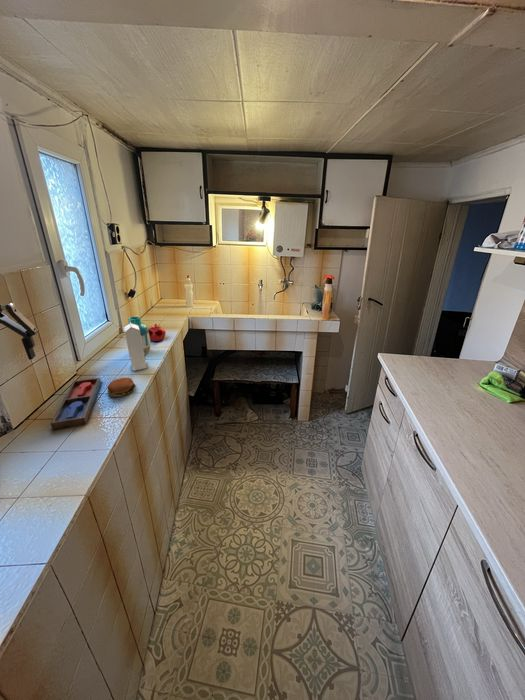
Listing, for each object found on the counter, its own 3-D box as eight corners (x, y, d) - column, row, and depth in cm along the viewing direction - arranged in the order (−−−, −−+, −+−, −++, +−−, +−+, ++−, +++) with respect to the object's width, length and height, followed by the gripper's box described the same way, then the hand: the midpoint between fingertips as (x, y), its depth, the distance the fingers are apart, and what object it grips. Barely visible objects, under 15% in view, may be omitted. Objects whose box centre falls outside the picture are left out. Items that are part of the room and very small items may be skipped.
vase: (126, 358, 138) (118, 321, 130) (133, 349, 148) (126, 314, 140) (149, 357, 139) (142, 320, 131) (154, 348, 148) (148, 314, 140)
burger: (103, 395, 109) (100, 385, 107) (121, 383, 117) (118, 373, 115) (124, 400, 106) (121, 389, 104) (140, 387, 114) (138, 377, 112)
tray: (52, 429, 91) (50, 423, 90) (75, 386, 115) (73, 381, 114) (86, 423, 94) (84, 417, 93) (101, 382, 117) (99, 377, 116)
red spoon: (75, 399, 105) (73, 395, 104) (81, 386, 114) (80, 382, 113) (87, 398, 106) (85, 393, 105) (92, 384, 115) (91, 380, 114)
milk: (145, 363, 134) (137, 318, 125) (146, 368, 129) (138, 322, 120) (131, 365, 131) (122, 320, 122) (132, 371, 126) (123, 324, 117)
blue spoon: (64, 423, 93) (62, 418, 92) (72, 405, 101) (70, 401, 101) (77, 420, 94) (76, 415, 93) (84, 403, 103) (83, 399, 102)
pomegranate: (151, 336, 165) (149, 321, 161) (168, 336, 165) (166, 321, 161) (145, 342, 156) (142, 326, 152) (163, 342, 156) (160, 326, 152)
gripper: (-103, 294, 65) (-60, 373, 74) (24, 287, 73) (50, 360, 81) (-79, 287, 72) (-42, 361, 81) (35, 281, 79) (58, 350, 88)
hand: (4, 361), depth 81 cm, fingers open, 13 cm apart
